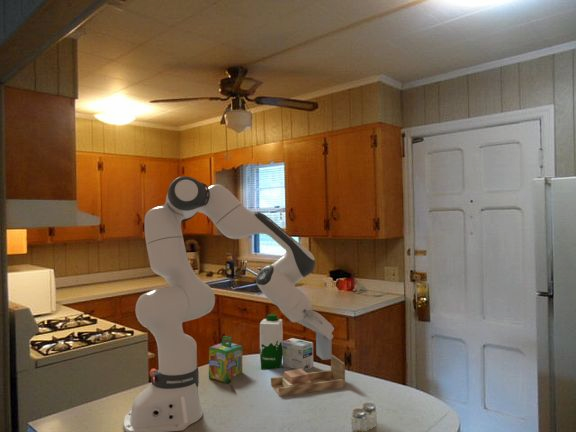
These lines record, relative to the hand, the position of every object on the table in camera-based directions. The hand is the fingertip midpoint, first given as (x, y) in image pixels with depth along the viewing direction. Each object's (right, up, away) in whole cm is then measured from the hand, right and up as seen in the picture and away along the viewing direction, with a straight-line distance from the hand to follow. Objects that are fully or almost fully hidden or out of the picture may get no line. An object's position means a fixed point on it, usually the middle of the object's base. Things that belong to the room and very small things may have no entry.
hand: (325, 335), depth 139 cm
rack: (-5, -21, +10) cm, 24 cm away
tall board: (0, -7, 0) cm, 7 cm away
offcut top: (-9, -18, +9) cm, 22 cm away
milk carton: (-18, -22, +33) cm, 43 cm away
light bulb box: (-8, -22, +30) cm, 38 cm away
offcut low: (-9, -20, +9) cm, 24 cm away
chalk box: (-35, -22, +22) cm, 47 cm away
